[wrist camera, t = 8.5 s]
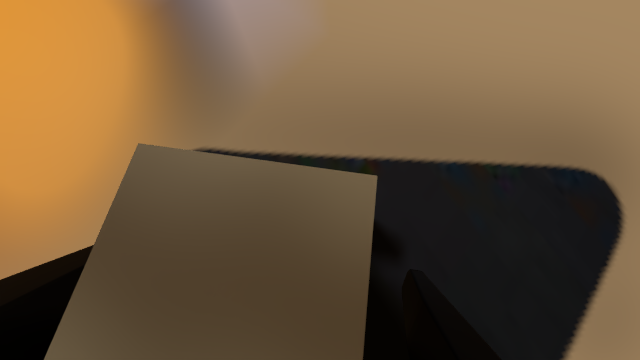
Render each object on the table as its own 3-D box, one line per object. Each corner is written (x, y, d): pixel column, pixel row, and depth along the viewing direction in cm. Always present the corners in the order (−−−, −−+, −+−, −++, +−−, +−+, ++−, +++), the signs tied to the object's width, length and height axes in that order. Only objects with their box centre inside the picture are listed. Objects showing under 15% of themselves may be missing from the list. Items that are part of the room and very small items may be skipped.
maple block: (327, 316, 15) (349, 529, 3) (252, 302, 16) (3, 452, 3) (337, 237, 17) (377, 175, 5) (269, 227, 17) (138, 143, 5)
